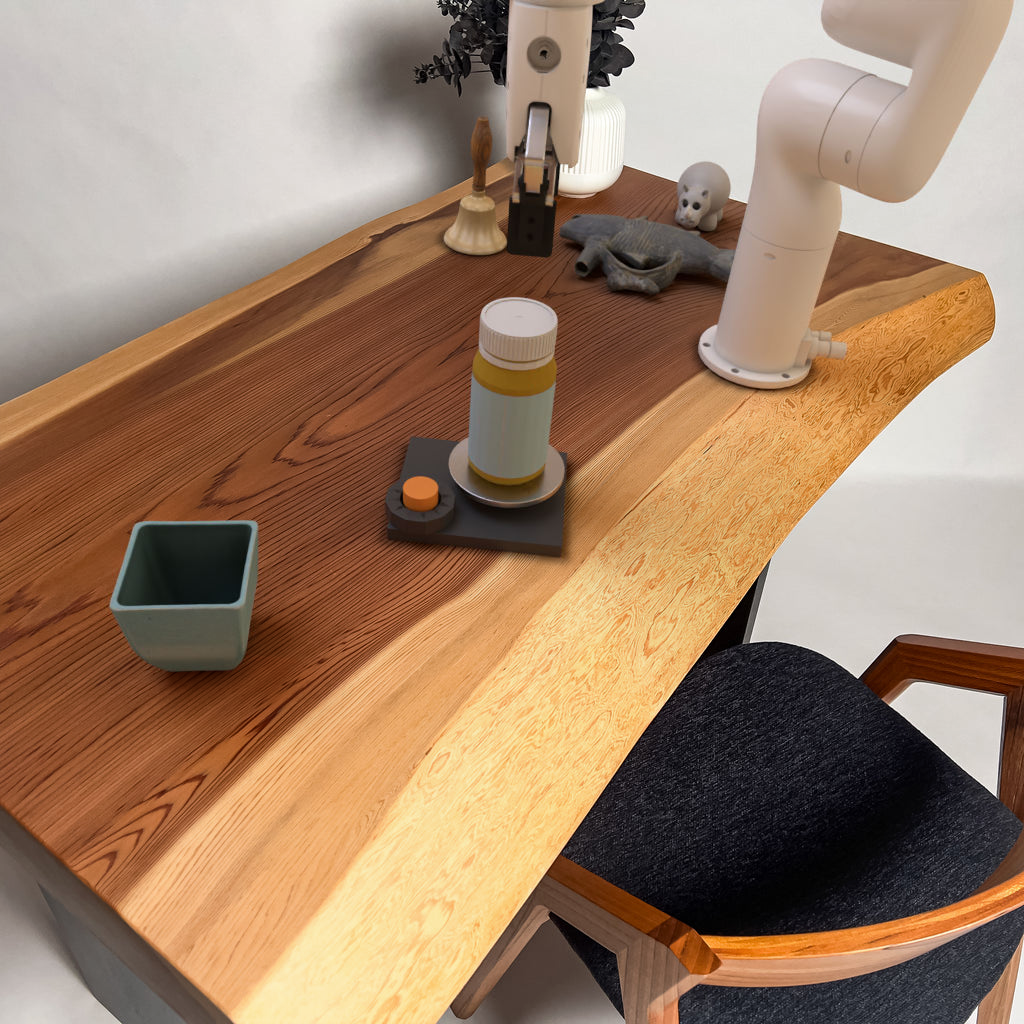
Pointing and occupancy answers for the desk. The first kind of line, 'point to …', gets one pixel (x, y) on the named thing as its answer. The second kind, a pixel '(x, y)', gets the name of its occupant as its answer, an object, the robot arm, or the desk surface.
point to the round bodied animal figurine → (702, 195)
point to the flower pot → (188, 593)
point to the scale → (470, 510)
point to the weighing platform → (503, 494)
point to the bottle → (512, 391)
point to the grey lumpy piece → (642, 251)
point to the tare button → (420, 494)
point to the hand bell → (477, 204)
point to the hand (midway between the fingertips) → (533, 222)
